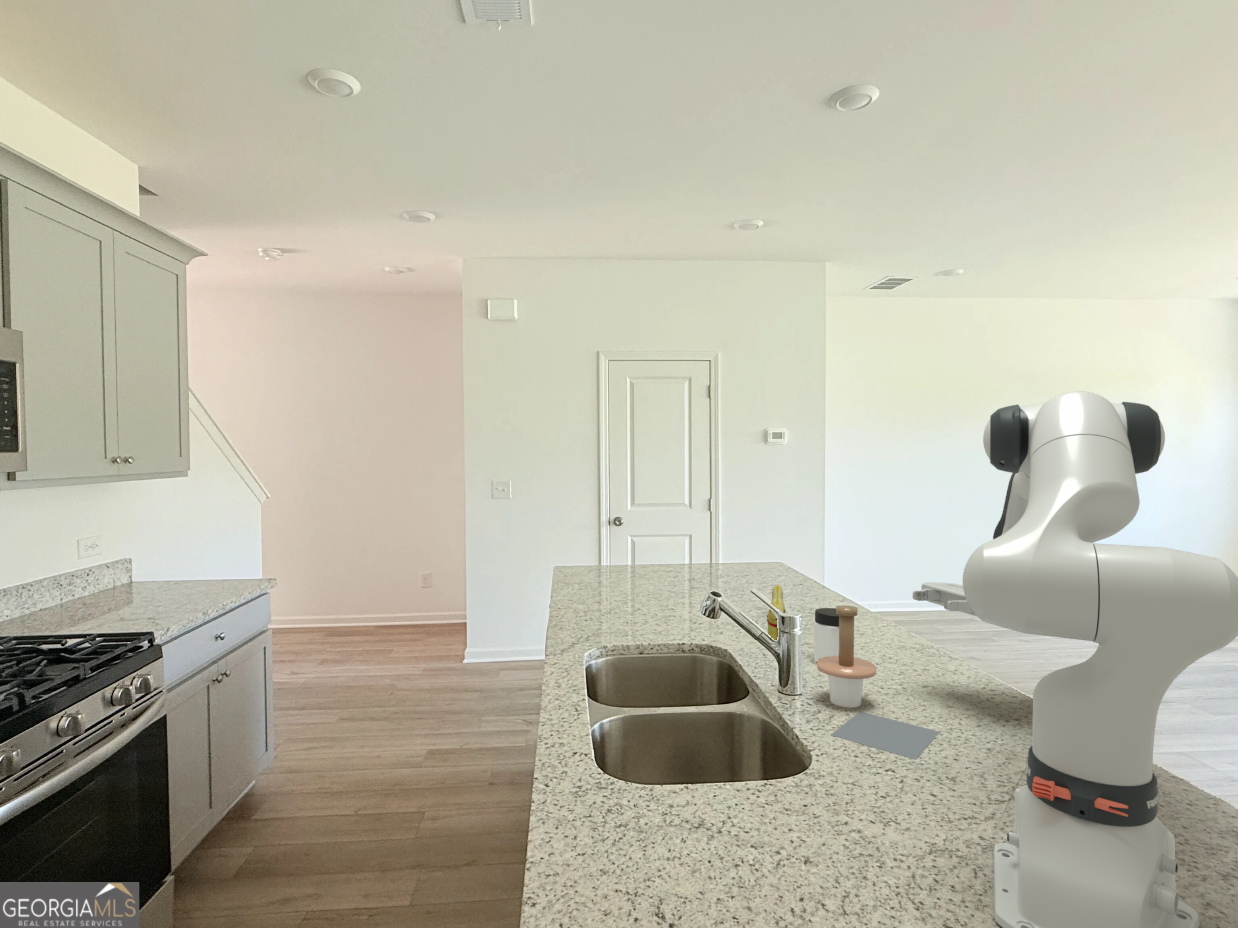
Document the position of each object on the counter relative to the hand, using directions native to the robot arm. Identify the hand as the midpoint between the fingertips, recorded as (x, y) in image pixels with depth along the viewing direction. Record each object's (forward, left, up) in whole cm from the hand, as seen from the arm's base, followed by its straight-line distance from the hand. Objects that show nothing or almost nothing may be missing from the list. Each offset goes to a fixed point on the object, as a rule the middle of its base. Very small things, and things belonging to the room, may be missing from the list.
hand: (930, 600), depth 126 cm
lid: (-8, +13, -14) cm, 21 cm away
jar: (+17, +26, -22) cm, 38 cm away
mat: (-18, +2, -21) cm, 28 cm away
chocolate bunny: (+24, +43, -22) cm, 54 cm away
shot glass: (-8, +13, -22) cm, 26 cm away
